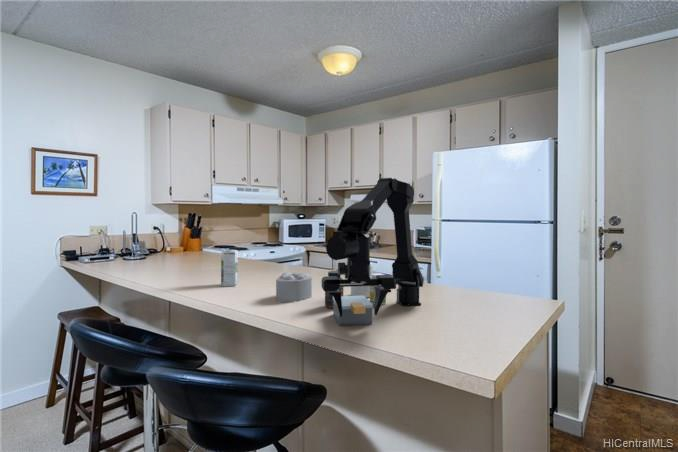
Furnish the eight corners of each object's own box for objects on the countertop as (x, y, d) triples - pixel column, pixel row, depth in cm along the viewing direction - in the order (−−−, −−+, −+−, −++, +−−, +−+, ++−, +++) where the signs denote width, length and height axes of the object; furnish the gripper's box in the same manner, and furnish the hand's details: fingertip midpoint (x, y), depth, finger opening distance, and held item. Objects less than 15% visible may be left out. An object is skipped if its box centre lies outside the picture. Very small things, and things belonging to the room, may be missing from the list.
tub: (362, 312, 107) (363, 298, 107) (372, 324, 96) (372, 307, 96) (333, 314, 106) (333, 299, 106) (339, 326, 95) (339, 309, 95)
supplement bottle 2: (387, 301, 120) (387, 273, 120) (384, 305, 115) (384, 276, 115) (371, 300, 122) (371, 272, 122) (367, 304, 117) (368, 275, 117)
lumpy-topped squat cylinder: (315, 296, 128) (315, 272, 128) (290, 304, 118) (290, 278, 117) (294, 292, 134) (294, 269, 134) (268, 299, 124) (268, 274, 124)
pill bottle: (376, 294, 130) (376, 254, 130) (366, 299, 124) (366, 256, 123) (357, 292, 135) (357, 252, 134) (346, 296, 128) (346, 255, 127)
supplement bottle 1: (341, 309, 111) (341, 273, 110) (323, 308, 112) (322, 272, 112) (345, 304, 117) (345, 270, 116) (327, 303, 118) (327, 269, 117)
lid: (363, 297, 107) (363, 292, 107) (377, 312, 91) (377, 306, 91) (332, 299, 106) (332, 293, 106) (341, 314, 90) (341, 308, 90)
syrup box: (223, 283, 150) (223, 249, 150) (238, 283, 151) (237, 249, 150) (220, 286, 145) (220, 251, 144) (235, 286, 145) (235, 251, 145)
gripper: (384, 251, 101) (384, 305, 102) (319, 252, 98) (319, 308, 99) (397, 256, 90) (396, 317, 91) (324, 258, 87) (324, 320, 88)
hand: (358, 315), depth 92 cm, fingers open, 9 cm apart
